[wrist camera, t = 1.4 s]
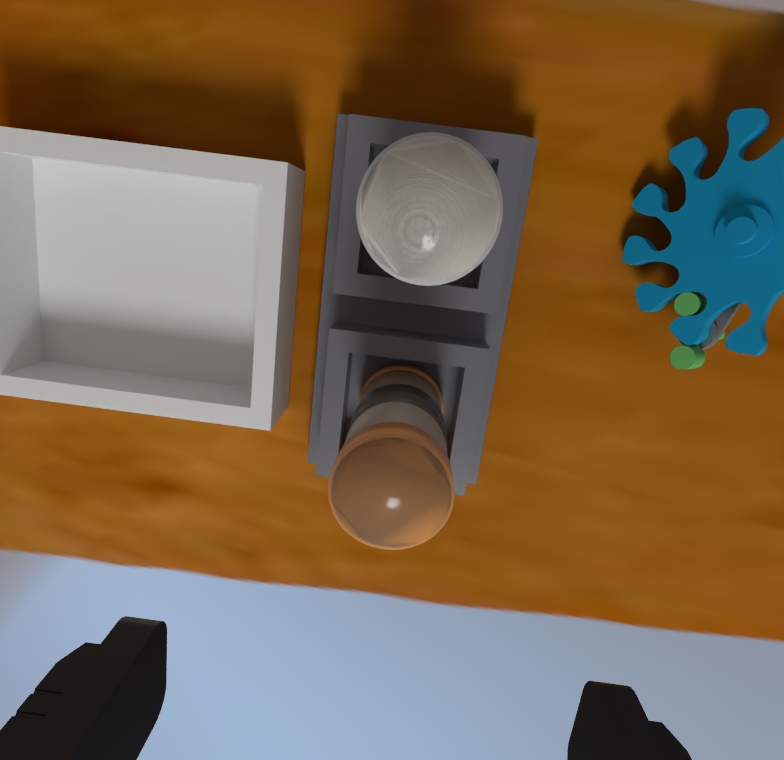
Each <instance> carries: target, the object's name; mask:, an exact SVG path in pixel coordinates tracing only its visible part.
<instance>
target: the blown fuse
mask: <svg viewBox="0 0 784 760" xmlns="http://www.w3.org/2000/svg"><path fill="white" fill-rule="evenodd" d="M454 496H455V493H454V482H453V475H452V469H451V464H450V461H449V458H448V456H447V439H446V432H445V424H444V418H443V400H442V394H441V390H440V387H439V385H438V383H437V382H436V380H435V379H434V377H433V376H432V375H431V374H430V373H429V372H428V371H426V370H425V369H423V368H422V367H420V366H418V365H415V364H412V363H407V362H394V363H389V364H386V365H384V366H382V367H380V368H378V369H377V370H375V371H374V372H373V373H372V374H371V375H370V376H369V377H368V378H367V380H366V381H365V383H364V385H363V387H362V390H361V393H360V396H359V399H358V405H357V408H356V410H355V412H354V415H353V418H352V421H351V424H350V426H349V429H348V432H347V435H346V439H345V444H344V445H343V447H342V448H341V450H340V452H339V454H338V456H337V458H336V461H335V464H334V466H333V469H332V472H331V475H330V478H329V484H328V497H329V503H330V507H331V510H332V512H333V514H334V516H335V518H336V520H337V521H338V523H339V524H340V525H341V527H342V528H343V529H344V530H345V531H346V532H347V533H348V534H350V535H351V536H352V537H353V538H355V539H357V540H358V541H360V542H362V543H364V544H366V545H369V546H372V547H375V548H380V549H387V550H400V549H407V548H411V547H414V546H417V545H419V544H422V543H424V542H425V541H427V540H429V539H430V538H432V537H433V536H434V535H436V534H437V533H438V532H439V531H440V530H441V528H442V527H443V526H444V525H445V523H446V522H447V520H448V518H449V516H450V514H451V511H452V508H453V504H454Z"/></svg>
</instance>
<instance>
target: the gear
mask: <svg viewBox="0 0 784 760" xmlns="http://www.w3.org/2000/svg"><path fill="white" fill-rule="evenodd" d="M769 121H770V119H769V115H768V114H767V113H766V112H765V111H764V110H763V109H759V108H745V109H739V110H734V111H733V112H732V113H731V114H730V116H729V118H728V121H727V129H728V132H729V146H728V150H727V153H726V156H725V158H724V160H723V162H722V164H721V166H720V168H719V169H718V171H717V172H716V174H715V175H714V176H712V177H711V178H709V179H705V180H701V179H700V176H699V173H700V170H701V167H702V166H703V164H704V162H705V160H706V158H707V155H708V148H707V146H706V144H705V143H704V142H702V141H701V140H700V139H699V138H697V137H694V138H690V139H688V140H686V141H684V142H682V143H680V144H678V145H677V146H675V147H674V148H672V149H671V150H670V153H669V158H670V161H671V163H672V164H673V165H675V166H676V167H677V168H678V169H679V170H680V171H681V173H682V175H683V177H684V180H685V185H686V201H685V204H684V205H683V207H682V208H681V209H679V210H678V211H676V212H672V213H671V212H669V209H668V195H667V192H666V191H665V190H664V189H663V188H661V187H659V186H657V185H655V184H651V183H650V184H648V185H647V186H646V187H644V188H643V189H642V190H641V192H640V193H639V194H638V195H637V197H636V198H635V200H634V201H633V203H632V205H633V208H634V209H635V210H636V211H637V212H640V213H642V214H644V215H647V216H654V217H657V218H659V219H660V220H661V221H662V222H663V223H664V224H665V225H666V227H667V228H668V230H669V231H670V233H671V236H672V240H671V243H670V245H669V246H668V247H667V248H666V249H664V250H662V251H658V250H657V249H656V248H655V246H654V245H653V243H652V242H651V241H650V240H648V239H646V238H643V237H640V236H630V237H629V238H628V240H627V241H626V244H625V247H624V251H623V257H622V261H624V262H625V263H627V264H631V265H635V266H642V265H645V264H647V263H652V262H665V263H668V264H670V265H673V266H675V267H676V268H677V269H678V271H679V279H678V281H677V282H676V284H675V285H673V286H672V287H669V288H666V287H663V286H661V285H658V284H654V283H643V284H641V285H639V286H638V287H637V288H636V299H637V302H638V305H639V307H640V310H641V311H647V312H656V311H659V310H661V309H662V308H663V307H664V306H665V305H666V304H667V303H669V302H670V301H672V300H673V299H675V298H676V299H675V302H674V308H675V311H676V312H677V313H678V314H680V315H683V316H682V317H679V318H677V319H675V320H674V321H673V322H672V324H671V325H670V330H671V332H672V333H673V334H674V336H675V337H676V338H678V339H679V341H680V342H681V343H682V344H683V345H684V346H679V347H676V348H675V349H674V350H673V351H672V352H671V355H670V360H671V363H672V365H673V366H674V367H676V368H678V369H694V368H698V367H700V366H701V365H702V364H703V363H704V361H705V353H704V351H703V350H702V349H707V348H710V347H712V346H713V345H714V344H716V343H717V341H718V340H721V339H723V338H724V337H725V334H726V331H725V329H726V327H727V326H728V324H729V323H730V321H731V320H732V318H733V317H734V315H735V313H736V312H737V310H738V309H739V307H740V306H741V304H742V303H746V304H747V305H748V306H749V307H750V310H751V317H750V319H749V320H748V321H747V323H745V324H744V325H742V326H740V327H738V328H736V329H735V330H733V331H732V332H731V333H730V334H729V335H728V337H727V339H726V348H728V349H730V350H732V351H735V352H738V353H743V354H750V355H761V354H762V353H764V351H765V350H766V348H767V345H768V339H767V336H766V320H767V317H768V314H769V312H770V310H771V308H772V307H773V305H774V304H775V302H776V301H777V299H778V298H779V297H780V296H781V295H782V294H784V137H783V138H782V139H781V140H780V142H779V143H778V144H777V145H775V146H774V147H773V148H772V149H771V150H769V151H768V152H767V153H765V154H764V155H763V156H761V157H760V158H758V159H756V160H754V161H745V160H744V152H745V150H746V149H747V147H748V146H749V145H750V144H751V143H753V142H754V141H755V140H757V139H758V138H759V137H761V136H762V135H763V134H764V133H765V131H766V130H767V128H768V126H769ZM695 293H700V294H695Z"/></svg>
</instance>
